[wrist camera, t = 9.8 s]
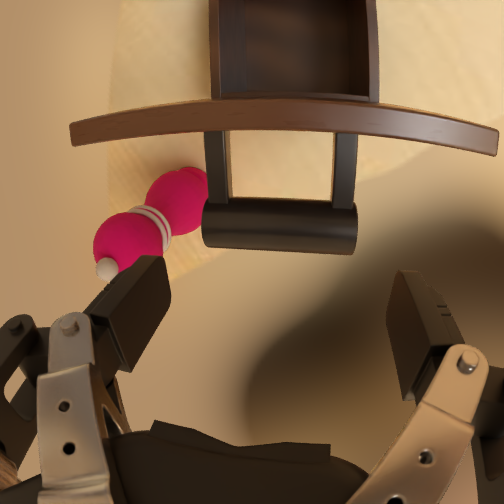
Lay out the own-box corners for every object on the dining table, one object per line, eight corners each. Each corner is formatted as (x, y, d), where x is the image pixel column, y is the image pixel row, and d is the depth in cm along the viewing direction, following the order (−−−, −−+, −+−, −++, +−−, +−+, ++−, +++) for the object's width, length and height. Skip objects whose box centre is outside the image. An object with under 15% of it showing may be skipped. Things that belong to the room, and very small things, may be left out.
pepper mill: (156, 174, 37) (50, 245, 20) (205, 154, 35) (111, 215, 18) (179, 224, 40) (95, 320, 23) (228, 208, 38) (162, 308, 21)
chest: (238, -12, 25) (208, -53, 15) (351, -11, 23) (368, -54, 13) (241, 102, 32) (211, 103, 21) (355, 105, 30) (379, 107, 20)
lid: (67, 123, 8) (97, 265, 10) (500, 130, 6) (464, 288, 8) (209, 98, 21) (213, 162, 23) (380, 102, 19) (376, 168, 21)
